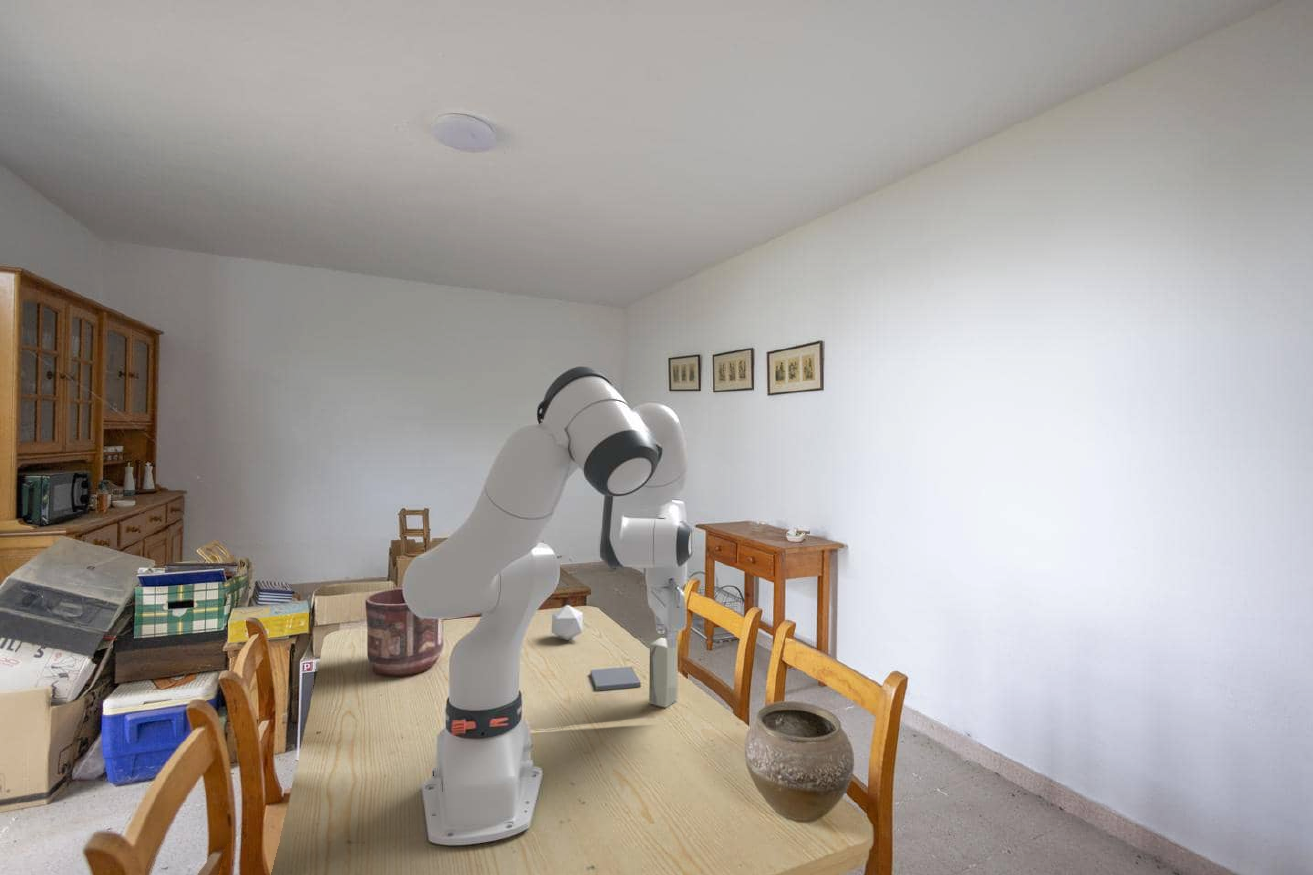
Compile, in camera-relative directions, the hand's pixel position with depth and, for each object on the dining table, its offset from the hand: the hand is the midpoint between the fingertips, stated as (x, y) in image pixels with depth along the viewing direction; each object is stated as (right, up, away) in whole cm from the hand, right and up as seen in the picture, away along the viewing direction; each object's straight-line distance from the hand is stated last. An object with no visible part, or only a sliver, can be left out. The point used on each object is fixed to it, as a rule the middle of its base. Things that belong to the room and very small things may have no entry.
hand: (665, 639), depth 129 cm
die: (-27, -14, +40) cm, 50 cm away
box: (0, -14, 0) cm, 14 cm away
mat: (-12, -13, +12) cm, 21 cm away
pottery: (-62, -13, +18) cm, 66 cm away
